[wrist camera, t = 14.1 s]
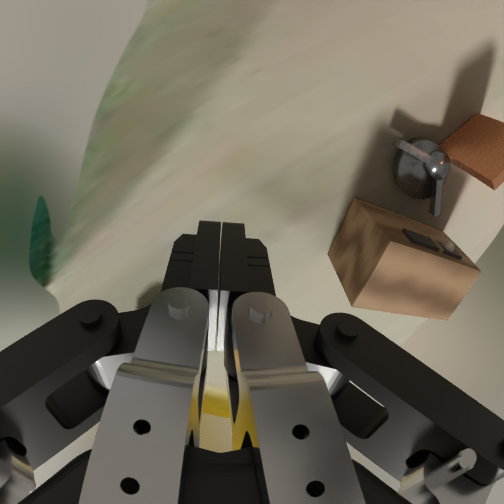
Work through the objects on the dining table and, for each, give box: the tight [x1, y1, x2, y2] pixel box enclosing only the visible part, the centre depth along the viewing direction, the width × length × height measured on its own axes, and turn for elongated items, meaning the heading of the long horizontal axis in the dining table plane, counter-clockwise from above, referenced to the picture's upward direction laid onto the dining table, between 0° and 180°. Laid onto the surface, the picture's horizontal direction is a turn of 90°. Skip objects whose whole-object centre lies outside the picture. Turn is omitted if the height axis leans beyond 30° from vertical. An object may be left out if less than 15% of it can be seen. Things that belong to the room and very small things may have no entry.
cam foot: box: [393, 113, 504, 217], centre depth 32 cm, size 20×14×13 cm
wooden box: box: [328, 198, 481, 320], centre depth 41 cm, size 12×20×12 cm, turn 73°
